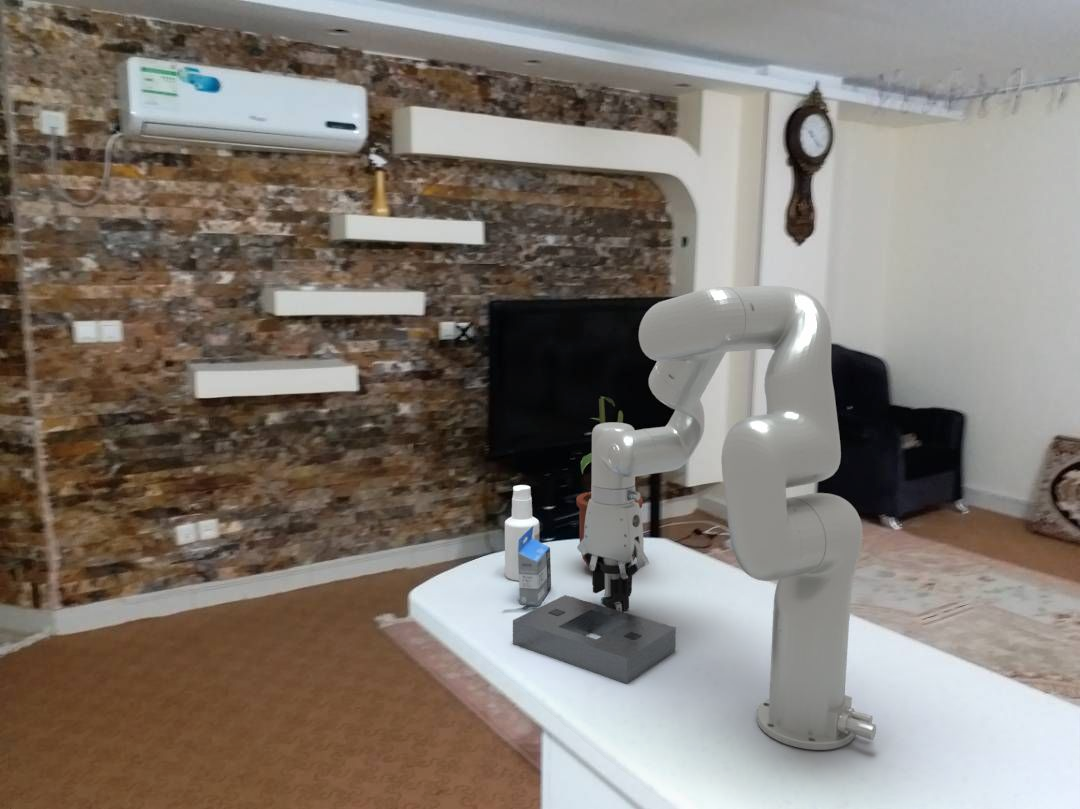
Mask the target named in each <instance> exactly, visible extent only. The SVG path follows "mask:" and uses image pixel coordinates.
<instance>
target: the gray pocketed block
mask: <svg viewBox="0 0 1080 809" xmlns="http://www.w3.org/2000/svg"><path fill="white" fill-rule="evenodd" d="M676 631H677V627H675V626H672V625H668V624H664V623H661V622H658V621H655V620H651V619H649V618H644V617H641V616H638V615H634V614H631V613H628V612H626V611H618V610H614V609H611V608H608V607H604V606H601V604H597V603H594V602H590V601H587V600H584V599H580V598H578V597H573V596H570V595H566V594H564V595H563V596H560V597H558V598H555V599H553V600H552V601H550V602H548V603H546V604H544V605H542V606H540V607H537V608H536V609H533V610H531V611H530V612H527V613H525V614H523V615H521V616H519V617H516V618H514V619H512V645H516V646H519V647H522V648H524V649H527V650H529V651H533V652H535V653H537V654H538V653H539V654H541V655H544V656H546V657H550V658H553V659H554V660H558V661H561V662H563V663H566V664H568V665H572V666H575V667H578V668H580V669H583V670H586V671H589V672H592V673H595V674H598V675H600V676H603V677H607V678H608V679H612V680H615V681H618V682H619V683H624V684H626V685H627V684H629V683H631V682H632V681H634V680H635V679H636V678H638V677H640V676H641V675H642V674H644V673H646V671H649V670H650V669H651V668H652V667H653V668H654V666H656V665H657V664H659V663H660V662H662V661H663V660H665V659H666V658H668V657H670V655H672V654H674V653H675V652H676V642H677V639H676V638H677V637H676V636H677V635H676V633H677V632H676ZM590 633H591V634H595V635H597V636H599V637H598V638H593V637H590V636H587V635H588V634H590Z"/></svg>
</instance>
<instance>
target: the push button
mask: <svg viewBox="0 0 1080 809" xmlns="http://www.w3.org/2000/svg"><path fill="white" fill-rule="evenodd" d="M599 565H600V570H601V571H602V572H604V574H605V589H604V593H603V596H602V597H601V598H600V605H601V606H604V607H608V608H611V609H614V610H618V611H621V612H626V611H629V610H630V597H628V598H626V599H624V600H622V601H621V600H618V579H619V578H621V574H620V569H619V564H618V561H615V560H611V559H607V558H604V559H601V560H599ZM626 567H627V564H626Z"/></svg>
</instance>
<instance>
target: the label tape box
mask: <svg viewBox="0 0 1080 809" xmlns="http://www.w3.org/2000/svg"><path fill="white" fill-rule="evenodd" d="M533 527H534V526H532V527H531V528H530V529H529V530H528V531H527V532H525V533H524V534H523V535H522V536H521V538H520V539H519V540H518V568H519V581H518V587H519V588H518V589H519V604H520V605H526V606H536V607H537V606H540V605H541V603H542V602H543V601H544V599H545V598H546V596H547V595H548V594H549V592H550V590H551V589H552V573H551V572H552V569H551V567H552V566H551V565H552V564H551V547H550V546H548V545H546V544H544V543H542V542H541V541H540V540H539V541H537V540H535V539H533V538H532V533H533ZM525 537H526V538H527V540H526V541H525V542H524V543H523V541H524V540H525Z"/></svg>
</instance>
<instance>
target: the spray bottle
mask: <svg viewBox="0 0 1080 809" xmlns="http://www.w3.org/2000/svg"><path fill="white" fill-rule="evenodd" d="M512 491H513V492H512V498H511V516H510V517H508V518H507V519H506V520H505V521H504V576H505V577H506V578H507V579H509V580H511V581H515V582H517V581H518V582H519V568H518V540H519V539H520V538H521V536H522V535H523V534H524V533H525V532H527V531H528V530H529V529H530V528H531V527H532V526H534V527H533V533H532V538H533V539H535V540H537V541H539V542H540V521H539V519H538V518H536V517H534V516H533V504H532V502H533V500H532V498H533V497H532V495H531V494H532V491H531V486H529V485H527V484H519V485H513V487H512ZM526 540H527V538H526V537H525V540H524V541H523V543H524V542H525V541H526Z"/></svg>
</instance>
